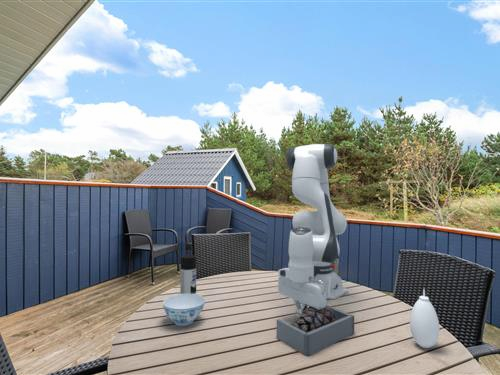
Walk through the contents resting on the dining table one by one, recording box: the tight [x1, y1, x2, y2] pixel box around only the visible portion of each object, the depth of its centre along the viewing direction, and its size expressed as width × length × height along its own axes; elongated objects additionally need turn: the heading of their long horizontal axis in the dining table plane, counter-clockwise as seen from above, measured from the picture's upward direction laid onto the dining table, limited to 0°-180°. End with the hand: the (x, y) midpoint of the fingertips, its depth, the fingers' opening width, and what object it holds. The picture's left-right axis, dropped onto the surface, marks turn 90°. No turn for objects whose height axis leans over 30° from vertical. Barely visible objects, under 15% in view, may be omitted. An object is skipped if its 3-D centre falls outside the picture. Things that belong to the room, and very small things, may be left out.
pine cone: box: [291, 305, 335, 333], centre depth 96 cm, size 10×18×10 cm, turn 140°
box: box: [276, 304, 355, 357], centre depth 97 cm, size 23×13×6 cm, turn 127°
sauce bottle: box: [409, 288, 440, 349], centre depth 91 cm, size 8×8×18 cm
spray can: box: [179, 254, 197, 294], centre depth 125 cm, size 7×7×20 cm
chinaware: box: [162, 293, 206, 327], centre depth 107 cm, size 15×15×8 cm
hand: (300, 313), depth 103 cm, fingers closed
